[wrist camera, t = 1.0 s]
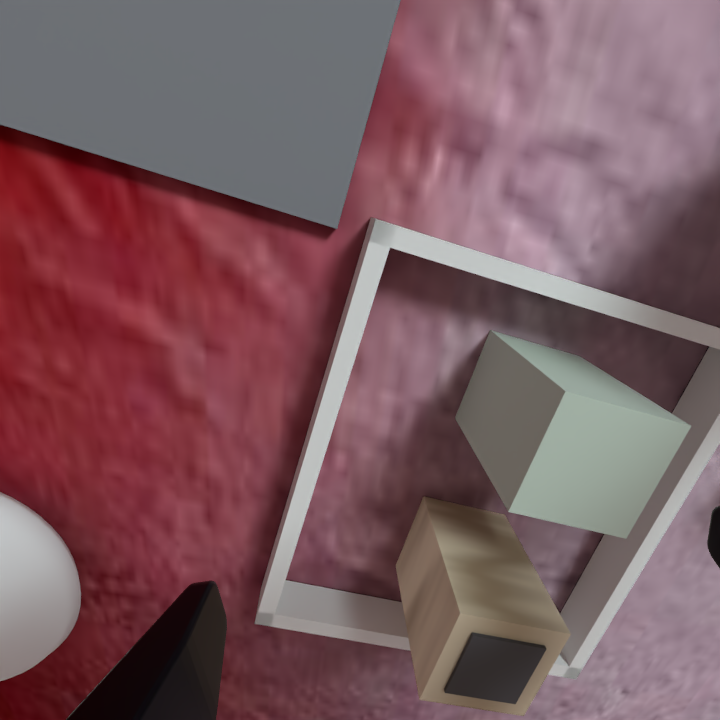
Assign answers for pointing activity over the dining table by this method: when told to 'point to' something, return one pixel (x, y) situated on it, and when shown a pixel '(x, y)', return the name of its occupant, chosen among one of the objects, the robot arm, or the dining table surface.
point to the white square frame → (614, 554)
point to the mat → (203, 89)
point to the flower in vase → (33, 588)
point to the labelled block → (475, 610)
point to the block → (565, 436)
